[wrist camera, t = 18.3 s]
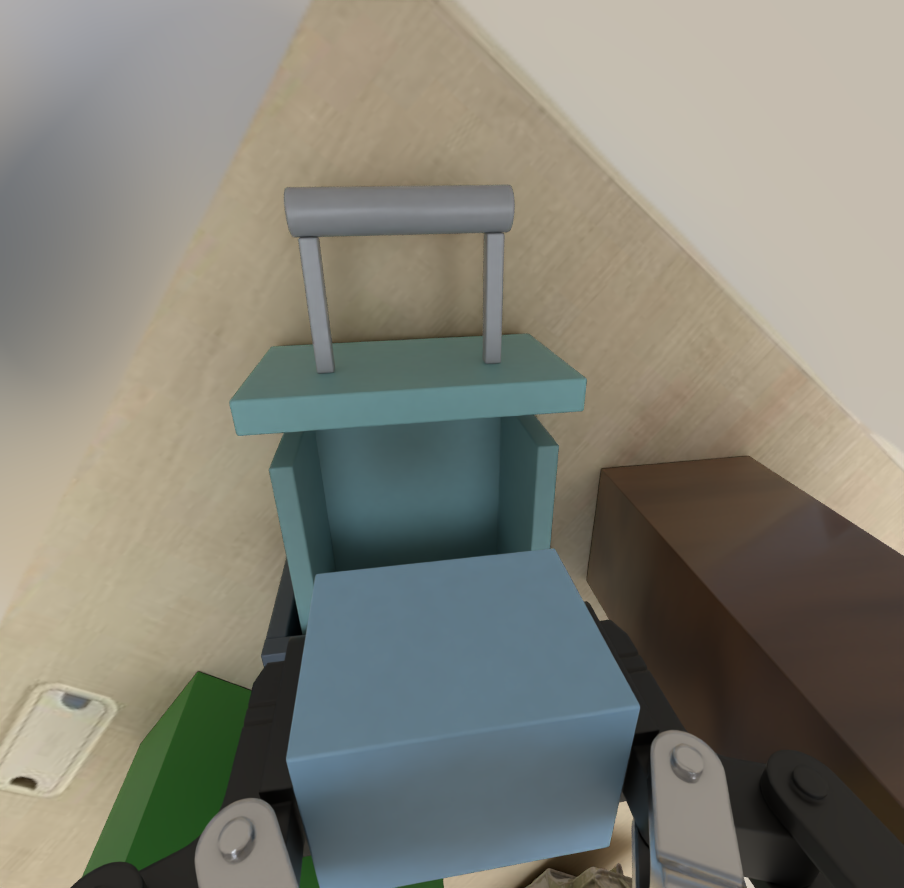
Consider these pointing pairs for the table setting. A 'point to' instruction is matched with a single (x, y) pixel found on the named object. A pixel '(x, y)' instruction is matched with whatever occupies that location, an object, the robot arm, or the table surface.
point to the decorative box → (583, 879)
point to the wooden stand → (760, 617)
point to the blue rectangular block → (455, 721)
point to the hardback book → (182, 780)
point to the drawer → (406, 408)
